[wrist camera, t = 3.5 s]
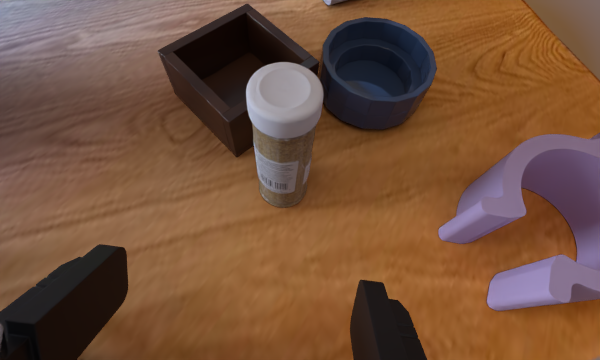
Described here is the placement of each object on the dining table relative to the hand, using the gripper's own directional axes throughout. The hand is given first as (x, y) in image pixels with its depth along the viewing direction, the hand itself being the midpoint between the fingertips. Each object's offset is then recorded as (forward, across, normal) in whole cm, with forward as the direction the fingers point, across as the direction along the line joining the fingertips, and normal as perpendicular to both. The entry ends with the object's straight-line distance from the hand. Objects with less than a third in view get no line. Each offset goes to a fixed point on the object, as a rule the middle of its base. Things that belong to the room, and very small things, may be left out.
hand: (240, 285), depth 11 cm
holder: (+26, +6, -4) cm, 27 cm away
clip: (+20, -25, +4) cm, 32 cm away
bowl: (+29, -8, -6) cm, 30 cm away
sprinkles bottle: (+20, 0, +4) cm, 20 cm away
